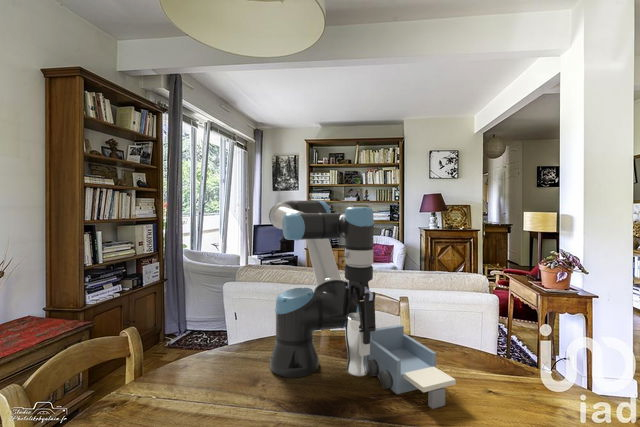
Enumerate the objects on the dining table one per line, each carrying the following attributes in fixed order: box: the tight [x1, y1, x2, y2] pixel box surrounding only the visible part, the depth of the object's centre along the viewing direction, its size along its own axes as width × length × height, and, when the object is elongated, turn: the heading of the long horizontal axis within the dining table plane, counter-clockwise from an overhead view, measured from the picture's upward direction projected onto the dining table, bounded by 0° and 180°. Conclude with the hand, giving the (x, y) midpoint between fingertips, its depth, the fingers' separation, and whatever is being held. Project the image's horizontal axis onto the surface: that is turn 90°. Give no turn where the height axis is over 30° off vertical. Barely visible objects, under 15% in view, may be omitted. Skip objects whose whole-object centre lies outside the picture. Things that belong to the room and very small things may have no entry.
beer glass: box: [344, 312, 371, 377], centre depth 89 cm, size 7×7×15 cm
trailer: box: [368, 324, 446, 410], centre depth 93 cm, size 24×16×12 cm
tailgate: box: [403, 366, 457, 393], centre depth 85 cm, size 2×10×8 cm
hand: (357, 348), depth 89 cm, fingers closed on beer glass, 7 cm apart
